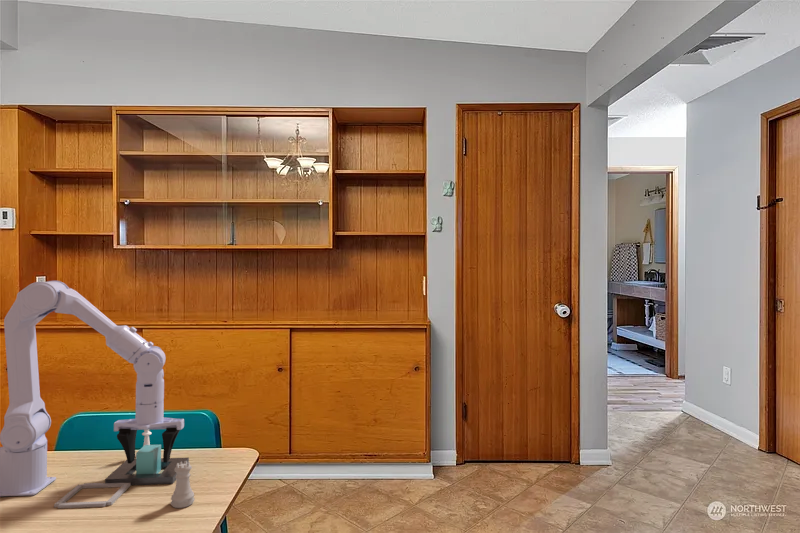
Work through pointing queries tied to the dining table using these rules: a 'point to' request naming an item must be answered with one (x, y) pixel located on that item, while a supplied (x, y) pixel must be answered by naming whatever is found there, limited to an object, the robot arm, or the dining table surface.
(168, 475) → the port block
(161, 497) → the dining table surface
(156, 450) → the plug
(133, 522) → the dining table surface
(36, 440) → the robot arm
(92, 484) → the open picture frame
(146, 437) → the chess piece
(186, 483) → the rook chess piece
